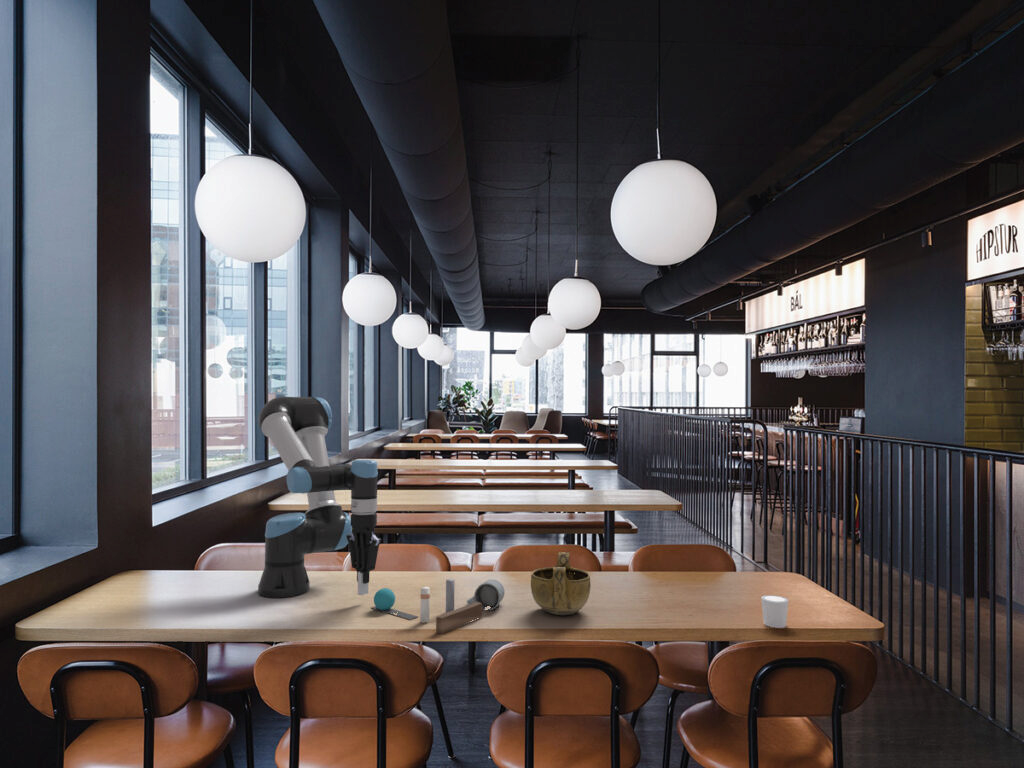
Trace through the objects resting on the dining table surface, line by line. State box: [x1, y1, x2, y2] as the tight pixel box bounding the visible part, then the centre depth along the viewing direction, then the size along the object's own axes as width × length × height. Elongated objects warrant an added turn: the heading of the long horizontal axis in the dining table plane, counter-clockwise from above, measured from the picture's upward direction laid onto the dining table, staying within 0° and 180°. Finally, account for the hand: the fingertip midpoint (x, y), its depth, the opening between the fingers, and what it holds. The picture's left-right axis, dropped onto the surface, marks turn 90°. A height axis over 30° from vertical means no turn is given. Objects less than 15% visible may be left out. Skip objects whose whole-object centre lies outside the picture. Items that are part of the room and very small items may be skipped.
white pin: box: [419, 586, 431, 624], centre depth 175 cm, size 2×2×9 cm
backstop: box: [435, 602, 483, 635], centre depth 173 cm, size 2×16×4 cm, turn 143°
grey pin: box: [445, 578, 456, 613], centre depth 183 cm, size 2×2×9 cm
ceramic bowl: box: [530, 551, 591, 616], centre depth 184 cm, size 22×17×15 cm
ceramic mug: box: [466, 579, 505, 611], centre depth 189 cm, size 11×8×8 cm
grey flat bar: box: [370, 605, 419, 620], centre depth 182 cm, size 16×3×1 cm, turn 53°
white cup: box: [760, 594, 789, 629], centre depth 176 cm, size 7×7×7 cm
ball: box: [373, 587, 396, 610], centre depth 184 cm, size 6×6×6 cm
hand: (362, 593), depth 190 cm, fingers closed
